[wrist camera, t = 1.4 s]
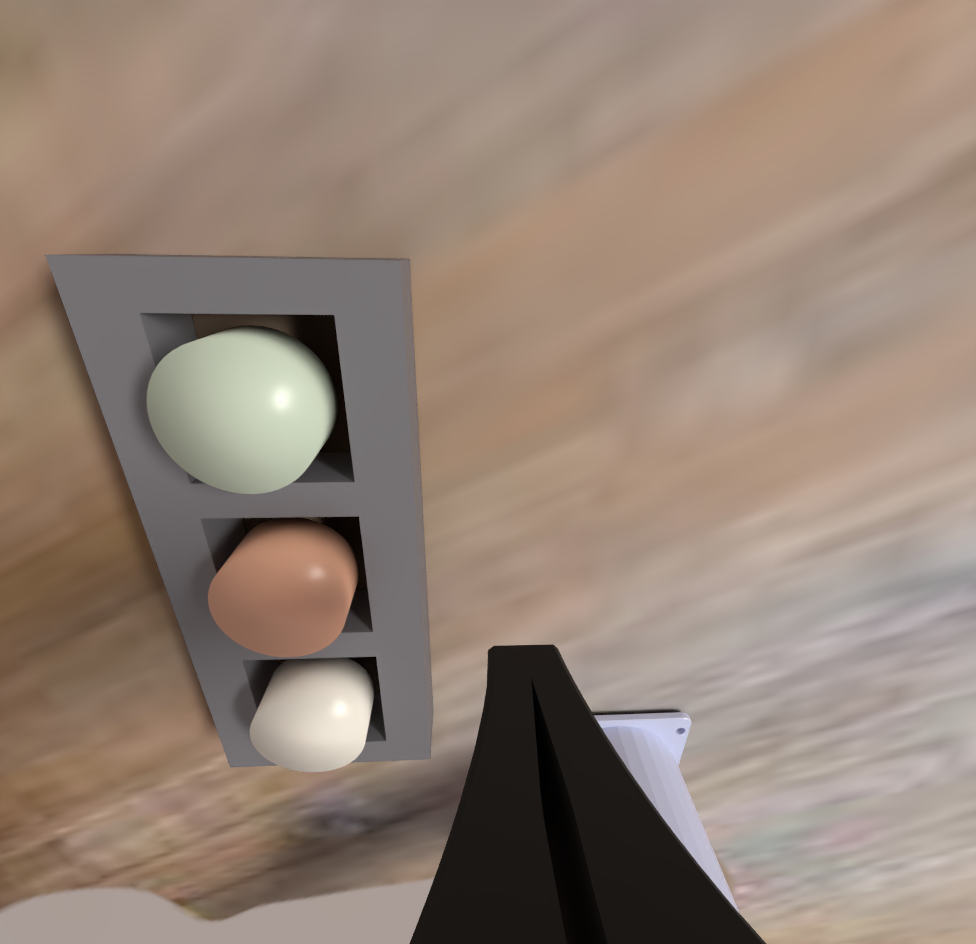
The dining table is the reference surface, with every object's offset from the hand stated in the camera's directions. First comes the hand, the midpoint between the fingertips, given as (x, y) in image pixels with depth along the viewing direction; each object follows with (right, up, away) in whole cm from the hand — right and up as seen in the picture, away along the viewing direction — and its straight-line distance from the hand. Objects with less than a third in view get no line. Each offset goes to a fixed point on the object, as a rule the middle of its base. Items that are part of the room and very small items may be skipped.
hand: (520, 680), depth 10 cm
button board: (-8, +2, +9) cm, 12 cm away
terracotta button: (-8, +1, +8) cm, 11 cm away
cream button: (-8, -5, +10) cm, 14 cm away
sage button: (-8, +7, +5) cm, 11 cm away
